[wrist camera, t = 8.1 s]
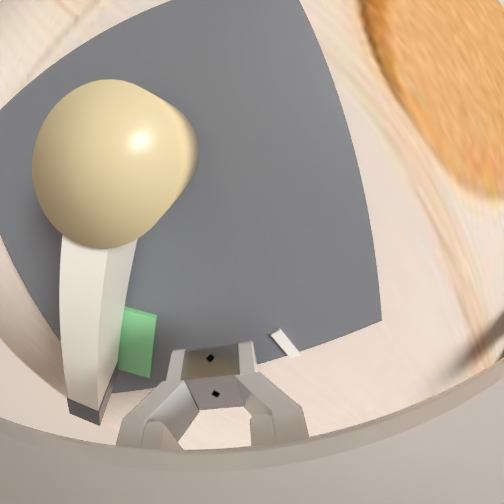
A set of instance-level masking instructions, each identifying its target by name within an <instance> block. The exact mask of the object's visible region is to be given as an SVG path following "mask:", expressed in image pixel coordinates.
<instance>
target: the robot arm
mask: <svg viewBox="0 0 504 504" xmlns="http://www.w3.org/2000/svg"><path fill="white" fill-rule="evenodd" d="M241 406H244V407H245V408H246V410H247V411H248V412H249V413H250V414H251V415H252V416H253V417H252V418H251V419H250V431H251V446H248V447H238V448H225V449H206V450H183V449H182V447H181V446H180V445H179V443H178V441H179V440H180V438H181V437H182V436H183V434H184V433H185V431H186V430H187V429H188V427H189V426H190V424H191V423H192V421H193V420H194V419H195V417H196V416H197V414H198V413H199V410H207V409H217V408H229V407H241ZM0 504H504V357H503V358H502V359H500V360H499V361H497V362H496V363H494V364H493V365H491V366H489V367H488V368H486V369H484V370H483V371H481V372H479V373H478V374H476V375H474V376H472V377H471V378H469V379H467V380H465V381H463V382H461V383H459V384H458V385H456V386H454V387H452V388H450V389H448V390H446V391H444V392H441V393H439V394H437V395H435V396H433V397H431V398H428V399H426V400H424V401H422V402H419V403H417V404H415V405H412V406H410V407H407V408H405V409H402V410H399V411H397V412H394V413H391V414H389V415H386V416H383V417H380V418H377V419H374V420H371V421H368V422H365V423H361V424H358V425H355V426H351V427H348V428H344V429H340V430H336V431H333V432H329V433H324V434H320V435H316V436H311V437H309V435H308V430H307V426H306V422H305V418H304V414H303V410H302V407H301V406H300V405H299V404H297V403H296V402H295V401H294V400H292V399H291V398H290V397H289V396H288V395H286V394H285V393H284V392H283V391H282V390H280V389H279V388H278V387H277V386H276V385H274V384H273V383H272V382H271V381H270V380H269V379H268V378H266V377H265V376H264V375H263V374H262V373H261V372H258V366H257V361H256V356H255V351H254V345H253V341H245V342H239V343H234V344H227V345H219V346H212V347H200V348H188V349H177V350H173V352H172V354H171V358H170V363H169V368H168V372H167V377H166V381H162V382H161V383H160V384H159V385H158V386H157V387H156V388H155V389H154V390H153V391H152V392H150V393H149V394H148V395H147V396H146V397H145V398H144V399H143V400H142V401H141V402H140V403H139V404H138V405H137V406H136V407H135V408H134V409H133V410H132V411H131V412H129V413H128V414H127V415H126V416H125V417H124V418H123V419H122V423H121V427H120V430H119V434H118V438H117V442H116V446H114V445H107V444H100V443H93V442H88V441H83V440H77V439H72V438H68V437H63V436H58V435H55V434H51V433H47V432H43V431H40V430H36V429H33V428H29V427H26V426H23V425H20V424H17V423H14V422H11V421H8V420H6V419H3V418H0Z"/></svg>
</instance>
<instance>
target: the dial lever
mask: <svg viewBox="0 0 504 504" xmlns="http://www.w3.org/2000/svg"><path fill="white" fill-rule="evenodd" d="M198 157H199V147H198V140H197V136H196V133H195V131H194V128H193V126H192V124H191V123H190V121H189V120H188V118H187V117H186V116H185V115H184V114H183V113H182V112H181V111H180V110H179V109H177V108H176V107H175V106H173V105H171V104H169V103H168V102H166V101H164V100H163V99H161V98H159V97H157V96H156V95H154V94H152V93H150V92H148V91H147V90H145V89H143V88H141V87H139V86H137V85H135V84H132V83H129V82H126V81H122V80H114V79H108V80H98V81H94V82H90V83H87V84H85V85H82V86H80V87H78V88H76V89H74V90H73V91H71V92H70V93H69V94H67V95H66V96H65V97H63V98H62V99H61V100H60V101H59V102H58V103H57V104H56V105H55V107H54V108H53V109H52V110H51V111H50V113H49V114H48V116H47V117H46V119H45V121H44V123H43V124H42V126H41V128H40V131H39V133H38V136H37V139H36V143H35V147H34V152H33V159H32V175H33V183H34V189H35V192H36V196H37V199H38V201H39V204H40V206H41V208H42V210H43V212H44V214H45V215H46V217H47V218H48V220H49V221H50V222H51V224H52V225H53V226H54V227H55V228H56V229H57V230H58V231H59V232H60V233H62V234H63V235H62V246H61V260H60V284H59V310H60V334H61V348H62V358H63V367H64V375H65V382H66V389H67V395H68V398H67V401H68V407H69V411H70V414H73V415H75V416H77V417H80V418H82V419H84V420H87V421H89V422H92V423H94V424H97V425H100V424H101V421H102V418H103V415H104V412H105V409H106V406H107V403H108V400H109V398H110V395H111V392H112V389H113V387H114V384H115V381H116V379H117V373H118V362H119V361H118V352H119V343H120V335H121V327H122V320H123V313H124V307H125V300H126V294H127V289H128V283H129V278H130V272H131V267H132V262H133V258H134V253H135V248H136V244H137V239H138V238H139V237H141V236H143V235H144V234H145V233H146V232H147V231H149V230H150V229H151V228H152V227H153V226H154V225H155V224H156V222H157V221H158V220H159V219H160V218H161V217H162V216H163V214H164V213H165V212H166V211H167V210H168V209H169V208H170V207H171V205H172V204H173V203H174V202H175V201H176V200H177V199H178V198H179V196H180V195H181V194H182V193H183V192H184V191H185V190H186V188H187V187H188V186H189V184H190V182H191V180H192V179H193V176H194V174H195V171H196V168H197V164H198Z"/></svg>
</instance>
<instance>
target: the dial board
mask: <svg viewBox="0 0 504 504" xmlns="http://www.w3.org/2000/svg"><path fill="white" fill-rule="evenodd" d="M108 79H114V80H122V81H126V82H129V83H132V84H135V85H137V86H139V87H141V88H143V89H145V90H147V91H148V92H150V93H152V94H154V95H156V96H157V97H159V98H161V99H163V100H164V101H166V102H168V103H169V104H171V105H173V106H175V107H176V108H177V109H179V110H180V111H181V112H182V113H183V114H184V115H185V116H186V117H187V118H188V120H189V121H190V123H191V124H192V126H193V128H194V131H195V133H196V136H197V140H198V147H199V157H198V164H197V168H196V171H195V174H194V176H193V179H192V180H191V182H190V184H189V186H188V187H187V188H186V190H185V191H184V192H183V193H182V194H181V195H180V196H179V198H178V199H177V200H176V201H175V202H174V203H173V204H172V205H171V207H170V208H169V209H168V210H167V211H166V212H165V213H164V214H163V216H162V217H161V218H160V219H159V220H158V221H157V222H156V224H155V225H154V226H153V227H152V228H151V229H150V230H149V231H147V232H146V233H145V234H144V235H143V236H141V237H139V238H138V239H137V244H136V248H135V253H134V258H133V262H132V267H131V272H130V278H129V283H128V289H127V294H126V300H125V307H124V313H123V320H122V327H121V335H120V343H119V352H118V361H119V362H118V373H117V379H116V381H115V384H114V387H113V389H112V392H111V393H120V392H127V391H134V390H141V389H148V388H154V387H157V386H158V385H159V384H160V383H161V382H162V381H166V377H167V372H168V368H169V363H170V358H171V354H172V352H173V350H177V349H188V348H200V347H212V346H219V345H227V344H234V343H239V342H245V341H253V345H254V351H255V356H256V361H257V364H260V363H264V362H267V361H271V360H274V359H277V358H281V357H284V356H287V355H288V356H289V357H290V358H291V359H293V358H295V357H297V356H299V355H300V352H299V351H302V350H305V349H308V348H311V347H314V346H317V345H320V344H323V343H326V342H328V341H331V340H334V339H337V338H339V337H342V336H345V335H347V334H350V333H352V332H355V331H357V330H360V329H362V328H365V327H367V326H370V325H372V324H375V323H377V322H379V321H382V317H381V304H380V293H379V283H378V274H377V266H376V258H375V251H374V244H373V238H372V231H371V225H370V220H369V214H368V209H367V204H366V199H365V194H364V189H363V184H362V180H361V176H360V171H359V167H358V163H357V159H356V155H355V151H354V147H353V143H352V140H351V136H350V133H349V129H348V126H347V122H346V119H345V116H344V112H343V109H342V106H341V103H340V100H339V97H338V94H337V91H336V88H335V85H334V82H333V79H332V76H331V74H330V71H329V68H328V66H327V63H326V60H325V58H324V55H323V53H322V50H321V48H320V45H319V43H318V41H317V38H316V36H315V33H314V31H313V29H312V27H311V24H310V22H309V20H308V18H307V16H306V14H305V11H304V9H303V7H302V5H301V3H300V1H299V0H172V1H169V2H166V3H164V4H161V5H159V6H156V7H154V8H151V9H149V10H147V11H144V12H142V13H140V14H138V15H136V16H133V17H131V18H129V19H127V20H125V21H123V22H121V23H119V24H117V25H115V26H114V27H112V28H110V29H108V30H106V31H104V32H103V33H101V34H99V35H97V36H96V37H94V38H92V39H91V40H89V41H87V42H86V43H84V44H82V45H81V46H79V47H78V48H76V49H75V50H73V51H72V52H70V53H69V54H67V55H66V56H64V57H63V58H61V59H60V60H59V61H57V62H56V63H55V64H53V65H52V66H51V67H49V68H48V69H47V70H45V71H44V72H43V73H41V74H40V75H39V76H38V77H36V78H35V79H34V80H33V81H32V82H30V83H29V84H28V85H27V86H26V87H25V88H23V89H22V90H21V91H20V92H19V93H18V94H17V95H16V96H15V97H13V98H12V99H11V100H10V101H9V102H8V103H7V104H6V105H5V106H4V107H3V108H2V109H1V110H0V235H1V237H2V239H3V242H4V244H5V246H6V248H7V251H8V253H9V255H10V257H11V259H12V261H13V263H14V265H15V267H16V269H17V271H18V273H19V275H20V277H21V279H22V281H23V282H24V284H25V286H26V288H27V290H28V291H29V293H30V295H31V297H32V298H33V300H34V302H35V303H36V305H37V307H38V308H39V310H40V312H41V313H42V315H43V316H44V318H45V319H46V321H47V322H48V324H49V325H50V327H51V328H52V330H53V331H54V333H55V334H56V336H57V337H58V339H59V340H60V341H61V334H60V310H59V284H60V260H61V246H62V235H63V234H62V233H60V232H59V231H58V230H57V229H56V228H55V227H54V226H53V225H52V224H51V222H50V221H49V220H48V218H47V217H46V215H45V214H44V212H43V210H42V208H41V206H40V204H39V201H38V199H37V196H36V192H35V189H34V183H33V175H32V159H33V152H34V147H35V143H36V139H37V136H38V133H39V131H40V128H41V126H42V124H43V123H44V121H45V119H46V117H47V116H48V114H49V113H50V111H51V110H52V109H53V108H54V107H55V105H56V104H57V103H58V102H59V101H60V100H61V99H62V98H63V97H65V96H66V95H67V94H69V93H70V92H71V91H73V90H74V89H76V88H78V87H80V86H82V85H85V84H87V83H90V82H94V81H98V80H108Z"/></svg>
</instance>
